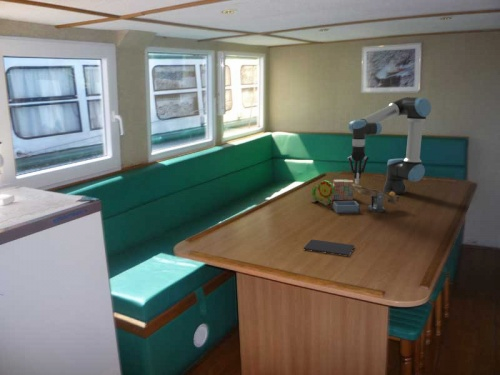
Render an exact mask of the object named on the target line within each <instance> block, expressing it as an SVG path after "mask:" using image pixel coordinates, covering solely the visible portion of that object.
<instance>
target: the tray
mask: <svg viewBox="0 0 500 375" xmlns="http://www.w3.org/2000/svg"><path fill="white" fill-rule="evenodd" d="M360 207H361V206H360V204H359V203H358V202H357V201H356V200H341V201H339V200H336V201H335V200H334V201H332V209H333V211H334V212H335V214H352V213H353V214H357V213H360V209H361V208H360Z"/></svg>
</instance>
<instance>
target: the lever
mask: <svg viewBox="0 0 500 375" xmlns="http://www.w3.org/2000/svg"><path fill="white" fill-rule="evenodd" d="M352 185H353V190H355V191H356V192H357V193H359V194H361V195H366V196H371V197H372V196H374V197H377V193H383V200H386V202H387V203H388V204H393V205H396V204H397V202H399V200H400V196H399V195H398V194H395V196H392V195H389V193H387V192H384V191H383V190H382V191H381V190H379V189H373V188H368V187H364V186H361V185H359V184H355V183H353V184H352Z"/></svg>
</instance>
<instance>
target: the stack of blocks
mask: <svg viewBox="0 0 500 375" xmlns="http://www.w3.org/2000/svg"><path fill="white" fill-rule="evenodd" d="M332 184H333V186H334V194H333V195H332V196H331V197H330V198H331V199H332V201H333V200H334V201H335V200H336V201H339V200H341V201H354V200H353V199H354V188H353V185H352V184H354V181H353V179H333V183H332Z"/></svg>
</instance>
